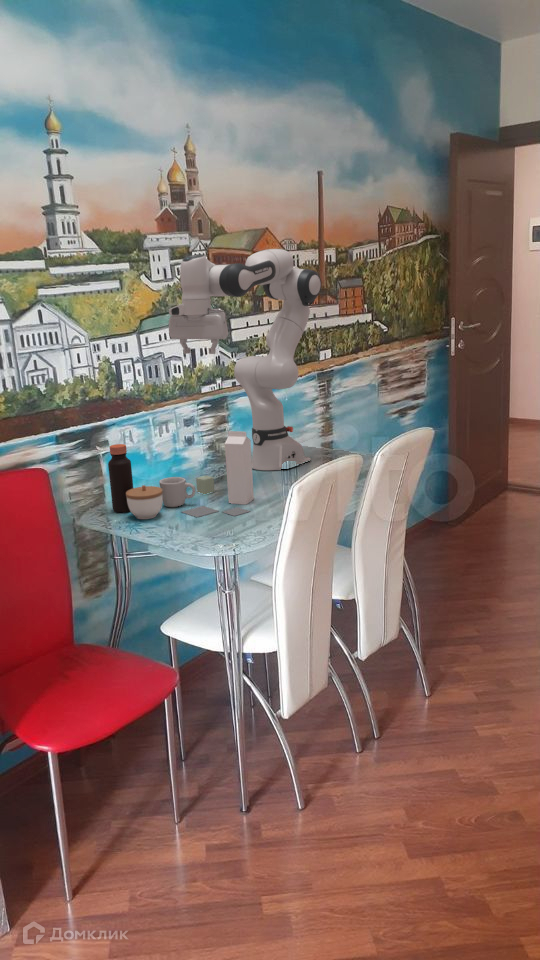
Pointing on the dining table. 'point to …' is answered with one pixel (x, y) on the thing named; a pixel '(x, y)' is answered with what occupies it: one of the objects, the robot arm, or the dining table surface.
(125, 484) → the vinegar
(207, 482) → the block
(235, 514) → the grey square coaster
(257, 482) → the dining table surface
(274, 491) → the dining table surface
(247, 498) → the milk
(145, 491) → the lidded jar
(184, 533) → the dining table surface
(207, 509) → the thin grey square tile
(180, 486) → the cup
